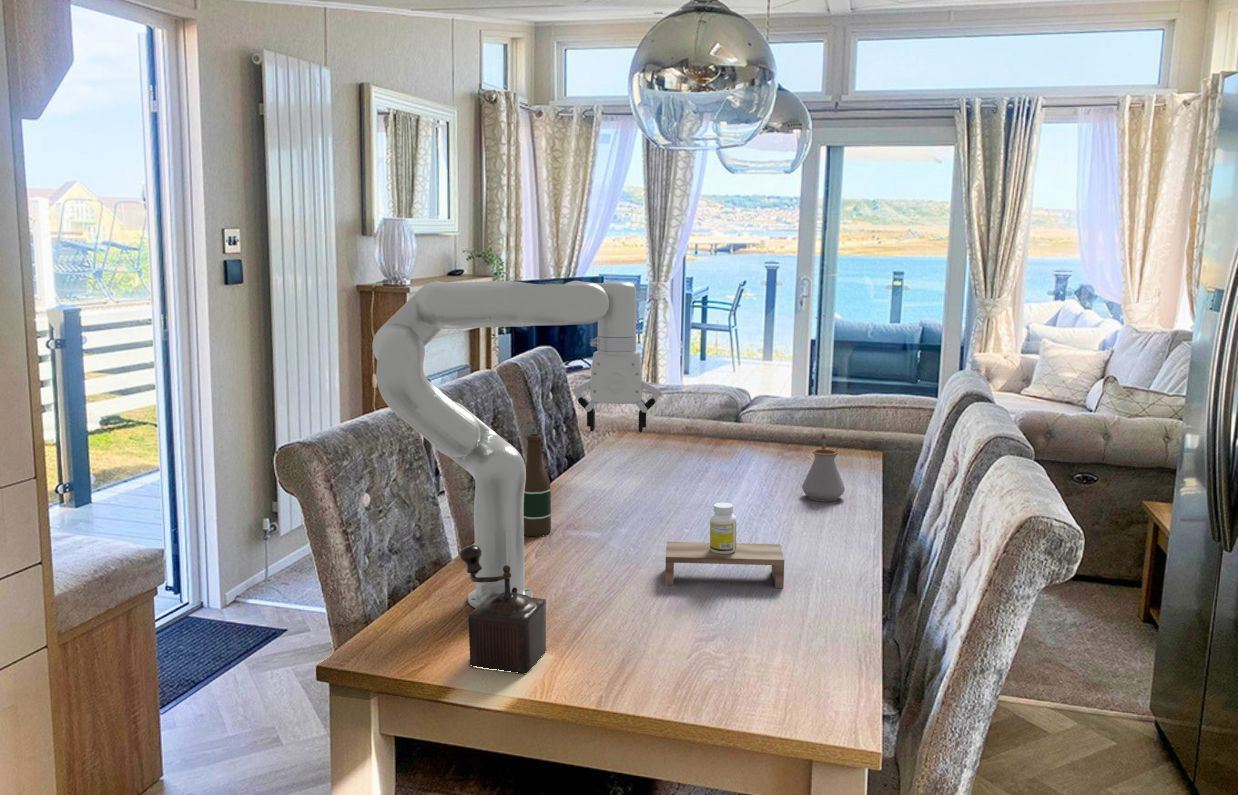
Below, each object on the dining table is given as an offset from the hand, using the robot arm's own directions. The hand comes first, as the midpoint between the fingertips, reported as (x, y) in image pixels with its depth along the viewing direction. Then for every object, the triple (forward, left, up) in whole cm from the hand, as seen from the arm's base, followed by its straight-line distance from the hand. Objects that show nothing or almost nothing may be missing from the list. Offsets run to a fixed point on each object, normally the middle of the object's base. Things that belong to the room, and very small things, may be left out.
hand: (616, 430), depth 194 cm
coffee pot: (+76, -52, -32) cm, 98 cm away
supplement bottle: (+6, -22, -26) cm, 35 cm away
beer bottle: (+34, +22, -32) cm, 52 cm away
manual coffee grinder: (-35, +18, -32) cm, 51 cm away
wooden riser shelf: (+6, -22, -32) cm, 40 cm away
